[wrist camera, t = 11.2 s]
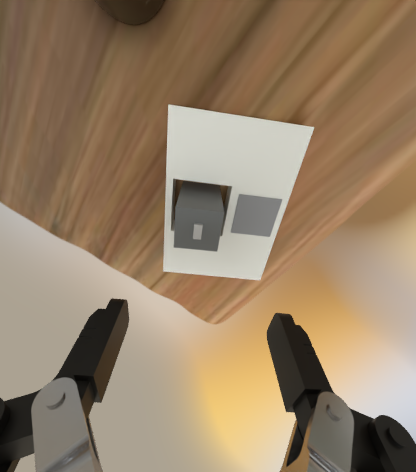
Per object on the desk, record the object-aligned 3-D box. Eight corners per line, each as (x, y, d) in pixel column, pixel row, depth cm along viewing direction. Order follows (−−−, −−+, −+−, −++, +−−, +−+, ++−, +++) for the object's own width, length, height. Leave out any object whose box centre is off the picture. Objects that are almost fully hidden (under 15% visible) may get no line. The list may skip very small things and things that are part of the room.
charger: (183, 180, 26) (175, 208, 19) (219, 185, 26) (224, 213, 19) (181, 213, 28) (173, 249, 21) (214, 217, 28) (217, 253, 21)
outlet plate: (172, 104, 22) (168, 104, 19) (302, 125, 23) (315, 127, 20) (166, 258, 32) (163, 272, 29) (255, 267, 33) (260, 281, 30)
